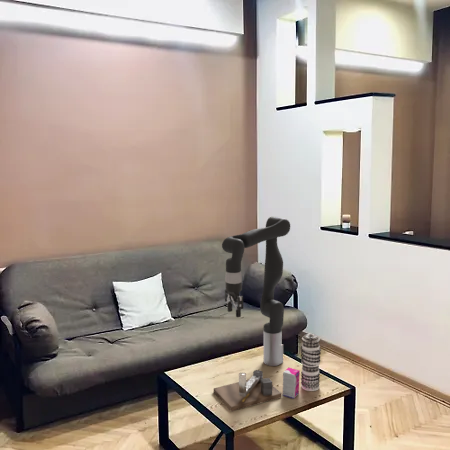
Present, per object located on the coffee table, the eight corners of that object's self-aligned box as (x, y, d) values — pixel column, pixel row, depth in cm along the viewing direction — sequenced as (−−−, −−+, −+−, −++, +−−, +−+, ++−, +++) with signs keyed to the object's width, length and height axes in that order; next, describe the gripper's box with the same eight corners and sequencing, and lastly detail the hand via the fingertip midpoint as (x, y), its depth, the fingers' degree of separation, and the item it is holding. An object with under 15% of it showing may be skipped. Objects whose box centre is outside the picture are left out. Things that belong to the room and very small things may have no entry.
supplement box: (294, 399, 219) (294, 375, 217) (282, 395, 222) (282, 371, 221) (299, 393, 224) (299, 369, 222) (287, 390, 227) (287, 366, 225)
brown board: (261, 380, 237) (261, 364, 236) (281, 397, 221) (281, 380, 220) (213, 392, 226) (213, 376, 225) (231, 411, 210) (231, 393, 209)
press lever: (255, 378, 234) (255, 354, 232) (264, 379, 232) (264, 356, 230) (236, 399, 215) (236, 374, 213) (245, 402, 213) (245, 376, 211)
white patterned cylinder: (307, 393, 224) (308, 341, 220) (296, 384, 233) (296, 333, 228) (324, 388, 228) (325, 337, 224) (312, 380, 236) (313, 330, 232)
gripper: (248, 283, 225) (248, 317, 227) (233, 275, 237) (234, 308, 240) (233, 285, 221) (233, 320, 224) (219, 278, 234) (220, 310, 237)
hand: (234, 314), depth 232 cm, fingers open, 8 cm apart
